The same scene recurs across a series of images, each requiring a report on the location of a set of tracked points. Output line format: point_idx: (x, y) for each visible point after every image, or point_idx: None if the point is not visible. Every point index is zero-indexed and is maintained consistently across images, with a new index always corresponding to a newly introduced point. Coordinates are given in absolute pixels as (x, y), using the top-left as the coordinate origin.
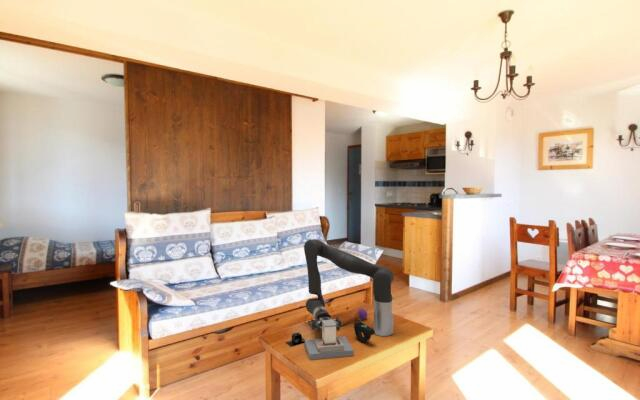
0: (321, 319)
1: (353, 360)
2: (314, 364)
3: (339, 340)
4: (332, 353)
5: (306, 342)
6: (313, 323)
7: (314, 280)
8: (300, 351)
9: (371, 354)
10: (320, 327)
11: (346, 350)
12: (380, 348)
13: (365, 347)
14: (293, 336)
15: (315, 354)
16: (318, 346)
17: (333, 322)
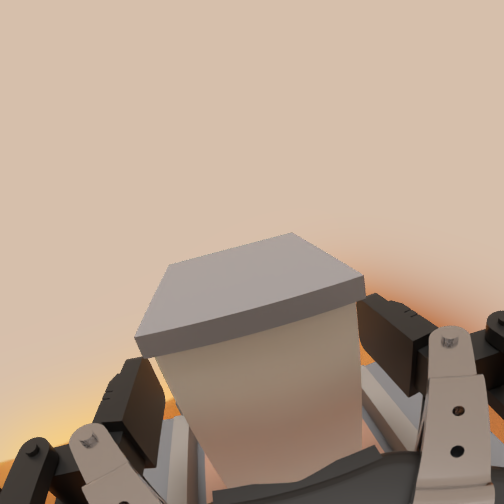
0: (449, 482)
1: (167, 411)
2: (365, 357)
3: (180, 490)
4: None
5: (498, 448)
6: (502, 317)
7: None
8: (494, 418)
9: (66, 444)
10: (363, 299)
11: (173, 421)
12: (7, 470)
13: (48, 500)
14: None
15: (373, 364)
16: (369, 384)
17: (176, 283)
